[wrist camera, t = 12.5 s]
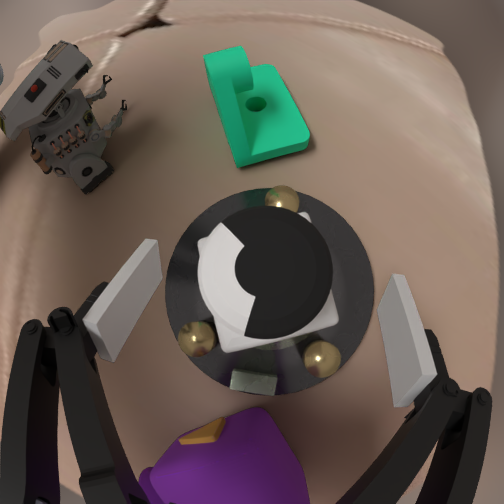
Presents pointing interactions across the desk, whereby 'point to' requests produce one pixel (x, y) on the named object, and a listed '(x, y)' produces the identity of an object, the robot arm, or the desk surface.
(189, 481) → the toy camera
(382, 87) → the desk surface
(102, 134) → the figurine
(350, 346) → the plate
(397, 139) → the desk surface
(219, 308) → the medicine bottle
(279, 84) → the camera mount
